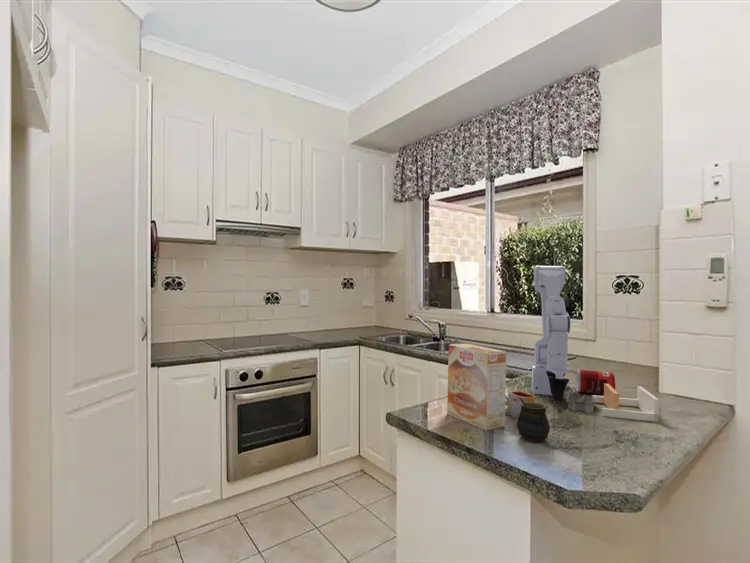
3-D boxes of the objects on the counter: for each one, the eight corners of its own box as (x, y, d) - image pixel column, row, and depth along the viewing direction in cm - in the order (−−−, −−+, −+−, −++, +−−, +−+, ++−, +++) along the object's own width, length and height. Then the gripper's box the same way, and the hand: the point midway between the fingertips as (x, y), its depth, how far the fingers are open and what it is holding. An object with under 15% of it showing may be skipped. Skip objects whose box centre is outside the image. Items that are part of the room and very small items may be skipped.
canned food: (609, 374, 146) (575, 371, 149) (614, 370, 139) (578, 367, 142) (611, 397, 143) (575, 393, 147) (616, 393, 136) (578, 390, 140)
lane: (602, 415, 118) (603, 394, 118) (592, 401, 132) (592, 382, 132) (658, 421, 113) (658, 399, 114) (640, 406, 128) (641, 386, 128)
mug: (538, 417, 115) (539, 393, 115) (531, 423, 110) (531, 398, 110) (496, 409, 122) (497, 386, 123) (487, 414, 117) (488, 390, 117)
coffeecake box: (446, 414, 116) (447, 344, 116) (465, 410, 120) (466, 342, 120) (485, 431, 103) (487, 352, 103) (506, 426, 107) (507, 350, 107)
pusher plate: (613, 414, 118) (614, 393, 118) (603, 402, 130) (604, 383, 130) (618, 415, 118) (618, 393, 118) (608, 403, 130) (608, 383, 130)
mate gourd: (556, 441, 97) (557, 398, 97) (535, 447, 94) (535, 402, 94) (530, 431, 104) (531, 391, 104) (509, 436, 100) (510, 394, 100)
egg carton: (570, 401, 133) (570, 388, 133) (597, 406, 129) (597, 392, 129) (564, 409, 124) (565, 395, 124) (593, 414, 120) (593, 400, 120)
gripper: (575, 358, 120) (574, 405, 120) (568, 350, 134) (567, 393, 134) (548, 356, 122) (547, 402, 122) (544, 349, 136) (543, 391, 136)
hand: (556, 397), depth 128 cm, fingers open, 7 cm apart
